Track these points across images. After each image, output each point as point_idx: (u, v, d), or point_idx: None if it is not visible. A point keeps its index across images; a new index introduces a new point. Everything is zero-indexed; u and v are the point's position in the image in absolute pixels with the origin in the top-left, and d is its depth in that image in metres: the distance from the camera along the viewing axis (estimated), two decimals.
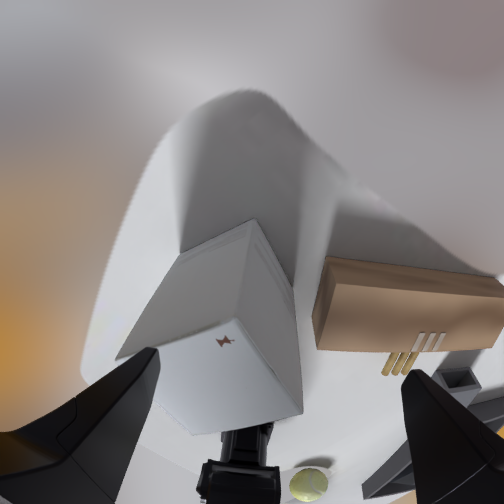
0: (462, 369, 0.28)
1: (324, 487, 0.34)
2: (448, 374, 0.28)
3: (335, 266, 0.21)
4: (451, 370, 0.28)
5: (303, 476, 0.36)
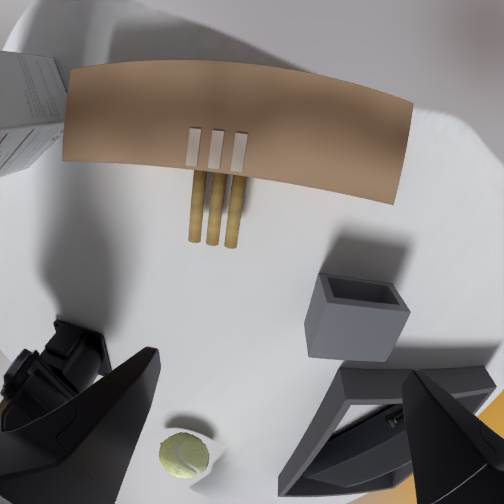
0: (375, 283, 0.21)
1: (197, 462, 0.28)
2: (347, 285, 0.21)
3: None
4: (351, 279, 0.21)
5: (172, 440, 0.29)
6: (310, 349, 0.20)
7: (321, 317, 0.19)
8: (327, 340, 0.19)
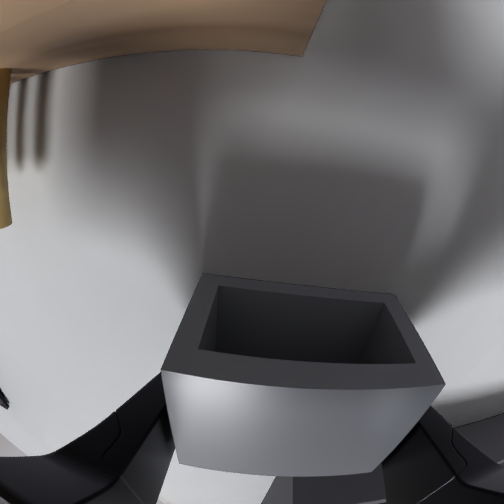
0: (353, 297, 0.09)
1: None
2: (276, 305, 0.09)
3: None
4: (287, 290, 0.09)
5: None
6: None
7: None
8: (206, 446, 0.07)
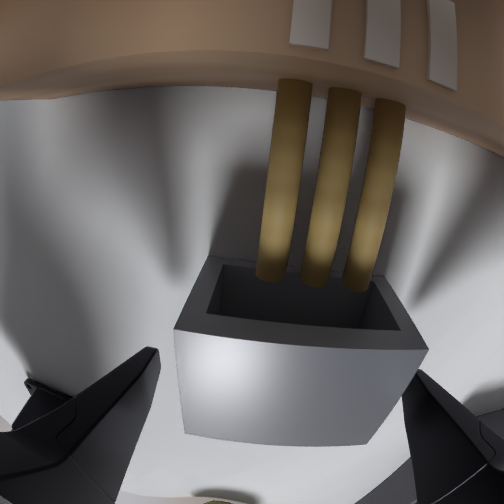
0: None
1: None
2: (275, 282, 0.10)
3: None
4: None
5: None
6: None
7: None
8: (211, 411, 0.08)
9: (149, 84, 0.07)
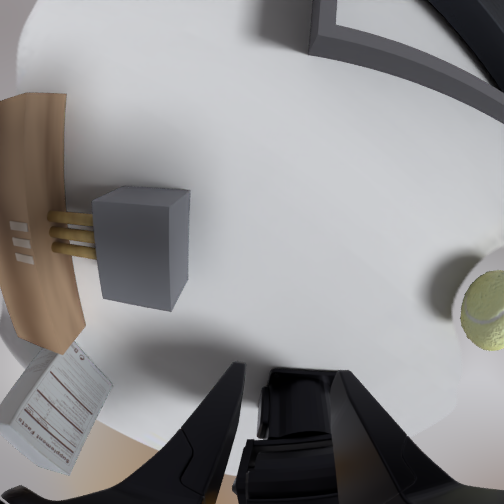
0: None
1: (500, 297, 0.15)
2: None
3: None
4: None
5: (463, 321, 0.18)
6: None
7: None
8: (143, 294, 0.17)
9: (72, 286, 0.21)
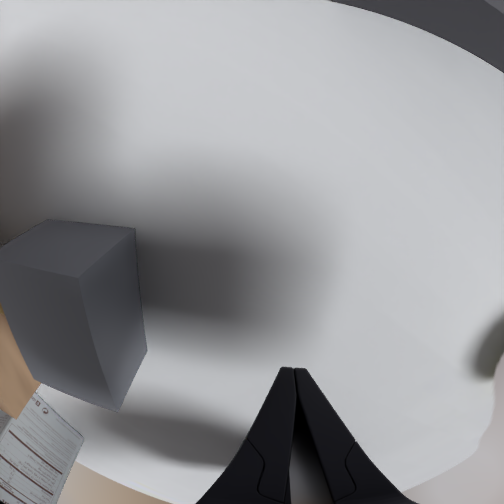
0: None
1: None
2: None
3: None
4: None
5: None
6: None
7: None
8: (77, 387, 0.09)
9: None
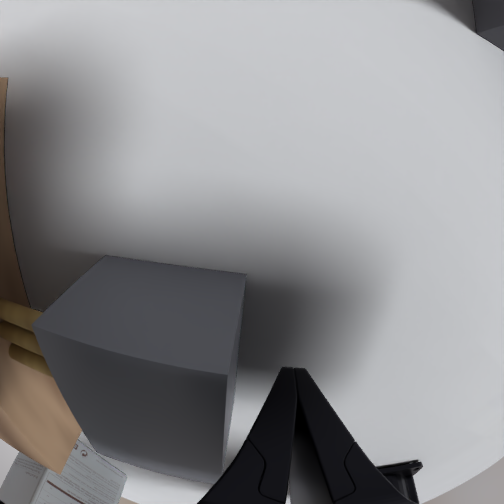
0: None
1: None
2: None
3: None
4: None
5: None
6: None
7: None
8: (169, 466, 0.07)
9: (56, 390, 0.12)
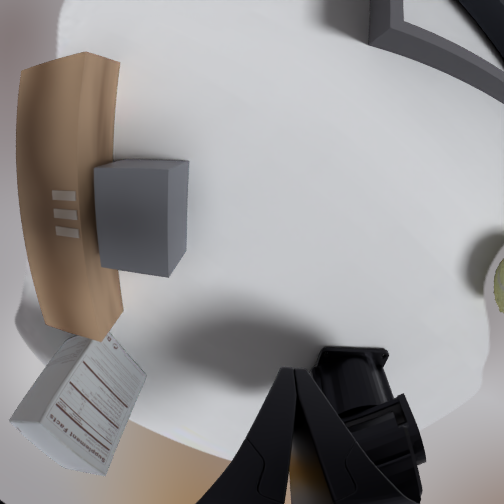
0: None
1: None
2: None
3: None
4: None
5: (497, 294, 0.18)
6: None
7: None
8: (141, 260, 0.17)
9: None
